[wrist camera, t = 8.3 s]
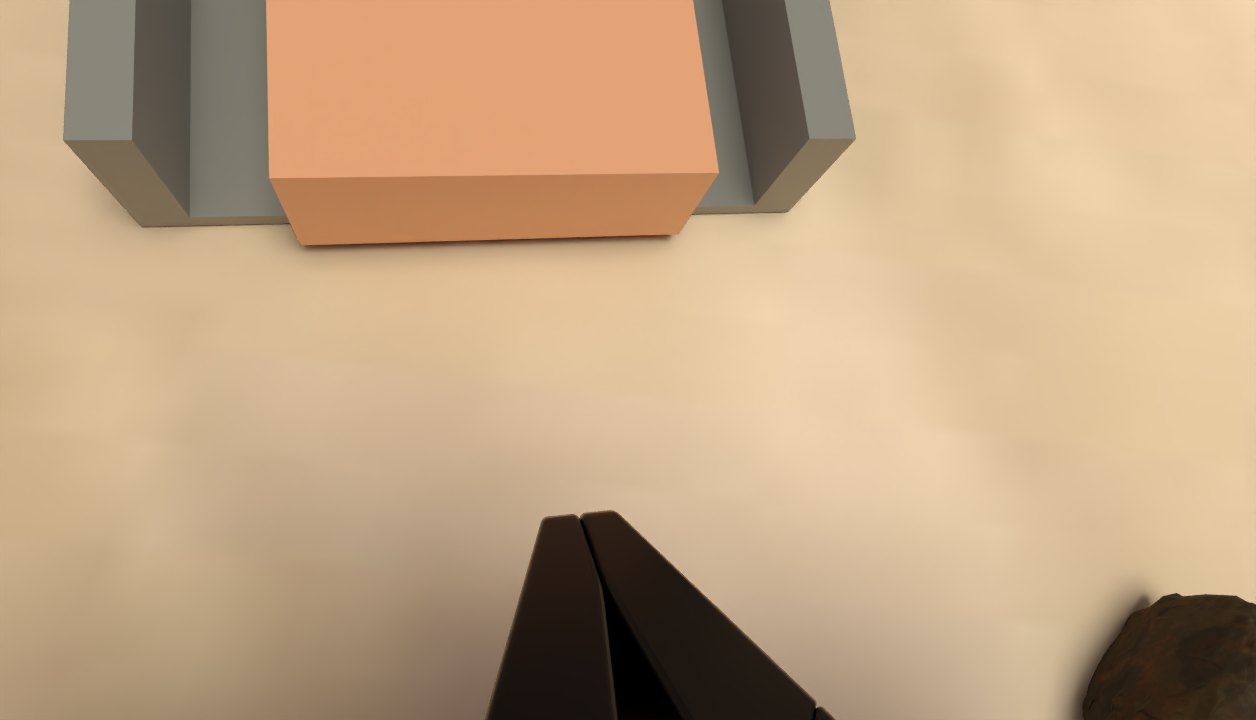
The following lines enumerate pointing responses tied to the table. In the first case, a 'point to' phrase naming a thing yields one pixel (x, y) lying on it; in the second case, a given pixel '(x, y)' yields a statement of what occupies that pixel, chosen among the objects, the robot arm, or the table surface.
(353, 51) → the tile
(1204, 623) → the hand tool
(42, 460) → the table surface
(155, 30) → the tray
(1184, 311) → the table surface
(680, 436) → the table surface
